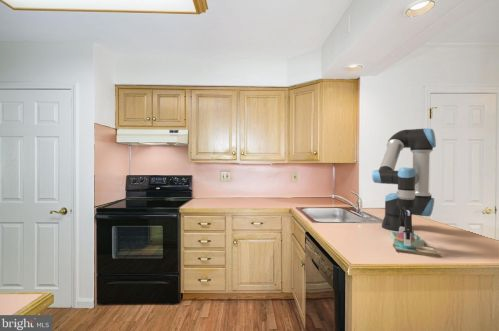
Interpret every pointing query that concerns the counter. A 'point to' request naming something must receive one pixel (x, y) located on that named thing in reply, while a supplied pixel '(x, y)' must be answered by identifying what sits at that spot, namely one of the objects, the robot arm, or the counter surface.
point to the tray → (417, 243)
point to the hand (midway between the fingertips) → (404, 242)
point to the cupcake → (400, 240)
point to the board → (417, 250)
